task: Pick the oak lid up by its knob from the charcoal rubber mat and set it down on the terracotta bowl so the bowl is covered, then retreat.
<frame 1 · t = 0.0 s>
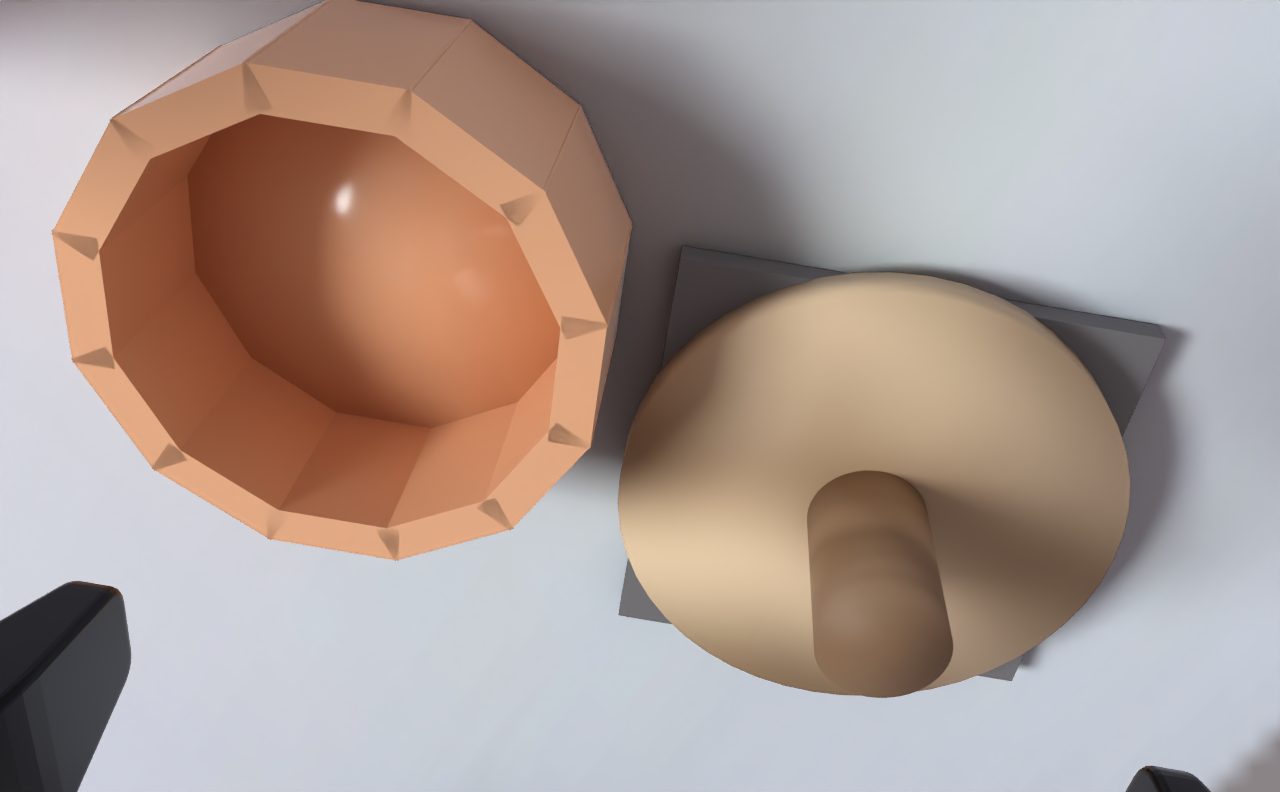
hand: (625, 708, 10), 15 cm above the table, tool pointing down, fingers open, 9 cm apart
bowl: (397, 241, 24), on the table
lid: (863, 491, 26), point 1 cm above the table, touching mat
mat: (861, 476, 26), on the table
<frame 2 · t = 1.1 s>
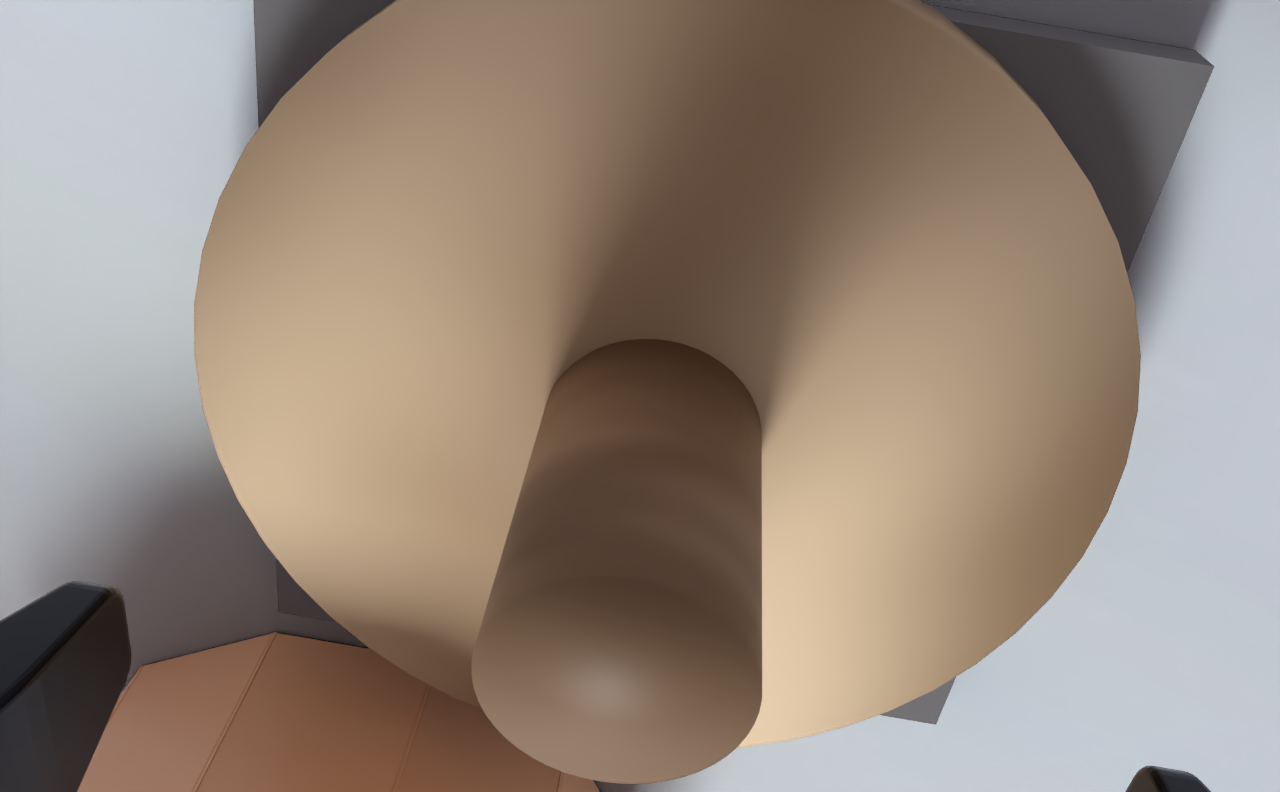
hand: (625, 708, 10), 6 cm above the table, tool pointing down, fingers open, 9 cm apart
lid: (657, 389, 14), point 1 cm above the table, touching mat
mat: (661, 366, 15), on the table
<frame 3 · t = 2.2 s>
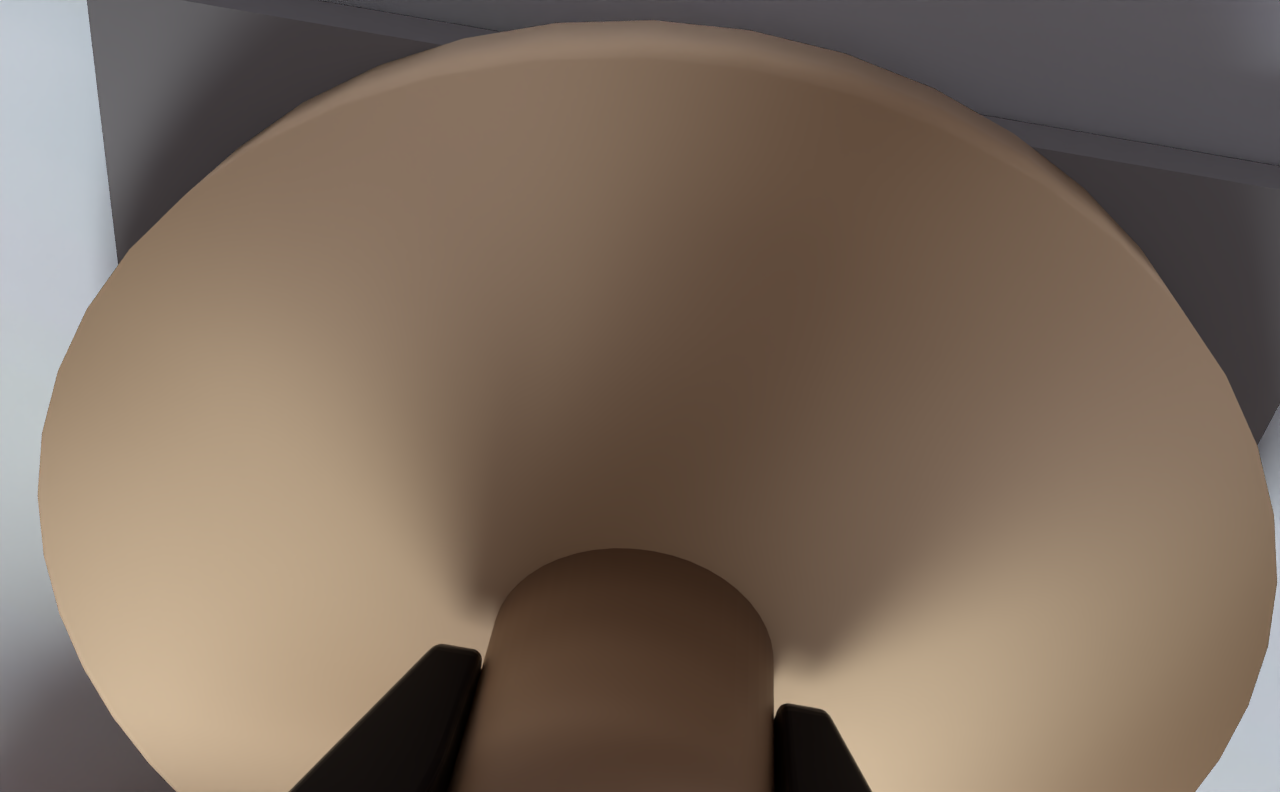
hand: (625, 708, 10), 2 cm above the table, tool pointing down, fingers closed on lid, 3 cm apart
lid: (641, 584, 11), point 1 cm above the table, touching gripper, mat
mat: (645, 545, 12), on the table
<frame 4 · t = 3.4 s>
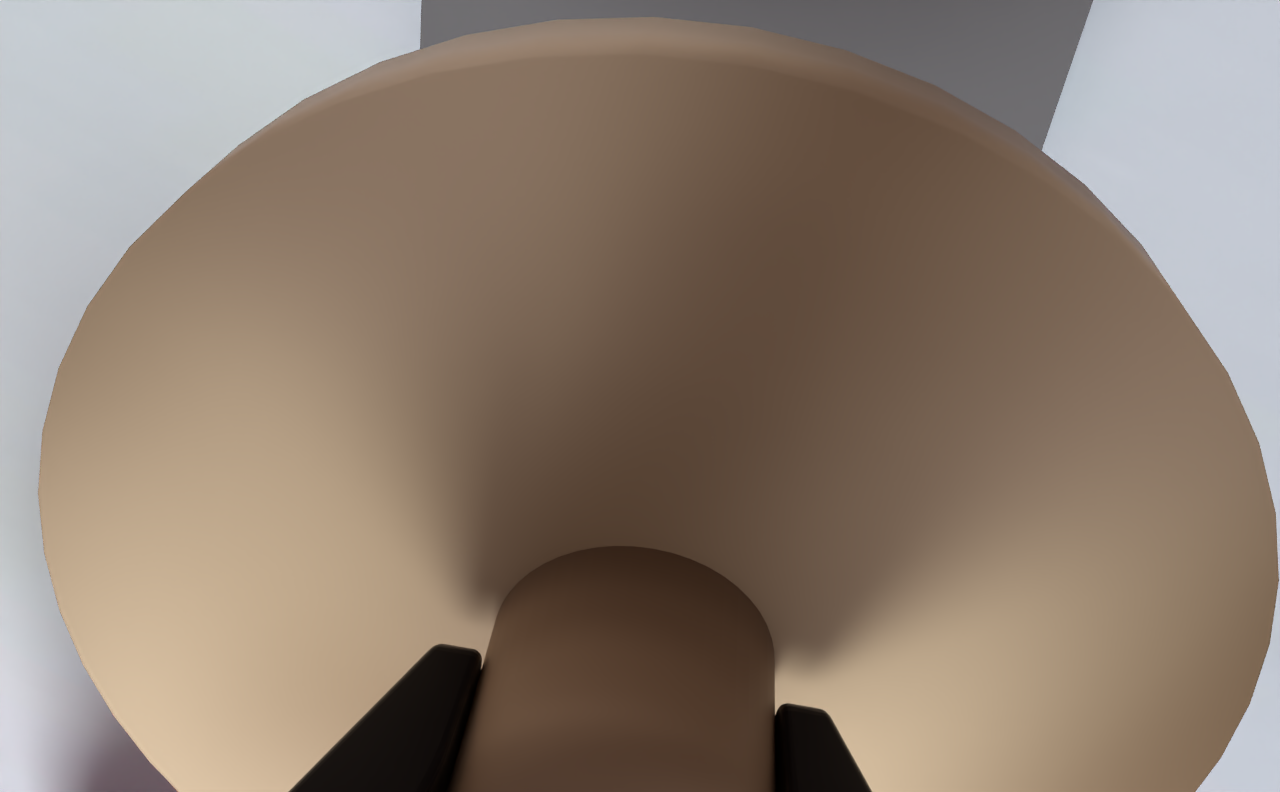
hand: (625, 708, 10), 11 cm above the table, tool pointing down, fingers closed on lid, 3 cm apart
lid: (642, 582, 11), point 10 cm above the table, touching gripper
mat: (716, 168, 19), on the table
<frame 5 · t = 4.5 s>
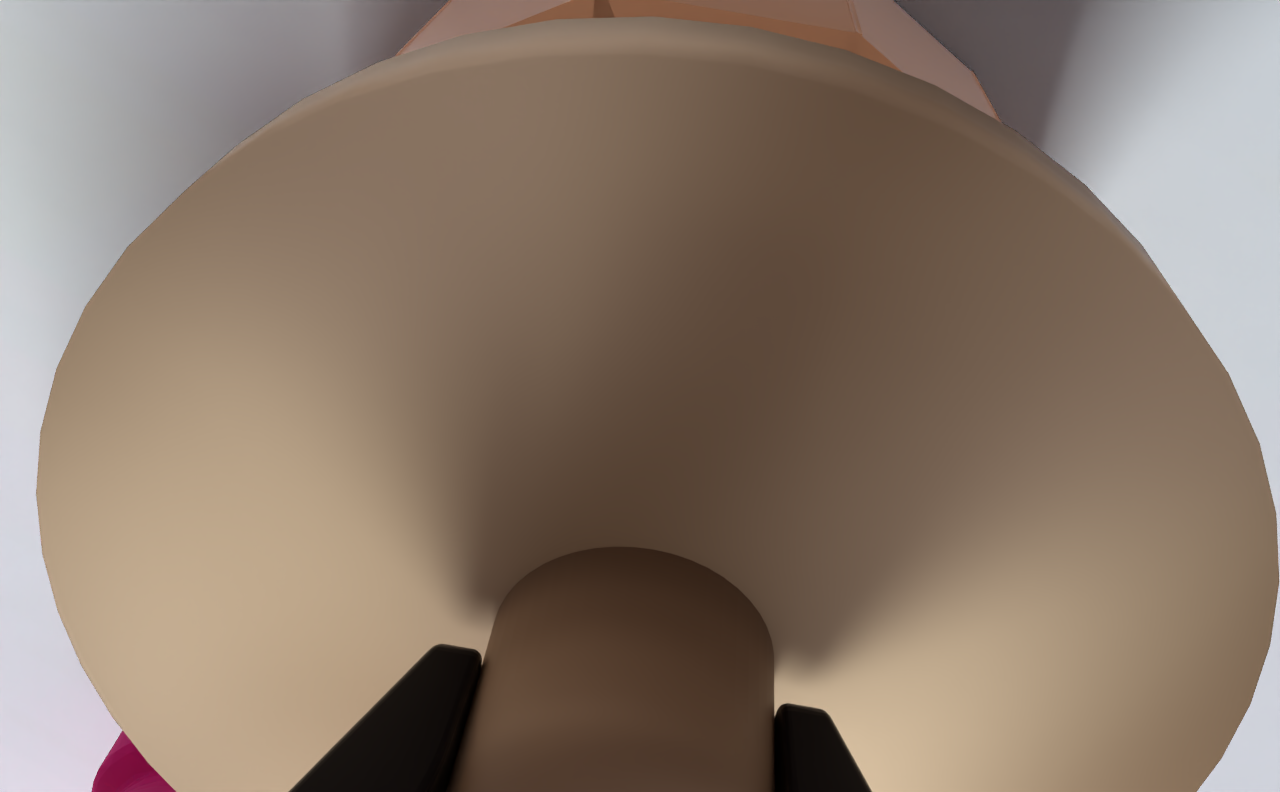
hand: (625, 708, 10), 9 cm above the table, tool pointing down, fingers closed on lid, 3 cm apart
bowl: (677, 260, 18), on the table
pepper mill: (270, 762, 25), on the table
lid: (641, 583, 11), point 8 cm above the table, touching gripper
when the fingers open (8 cm above the table, at t = 4.9 s): lid drops 2 cm, resting on bowl.
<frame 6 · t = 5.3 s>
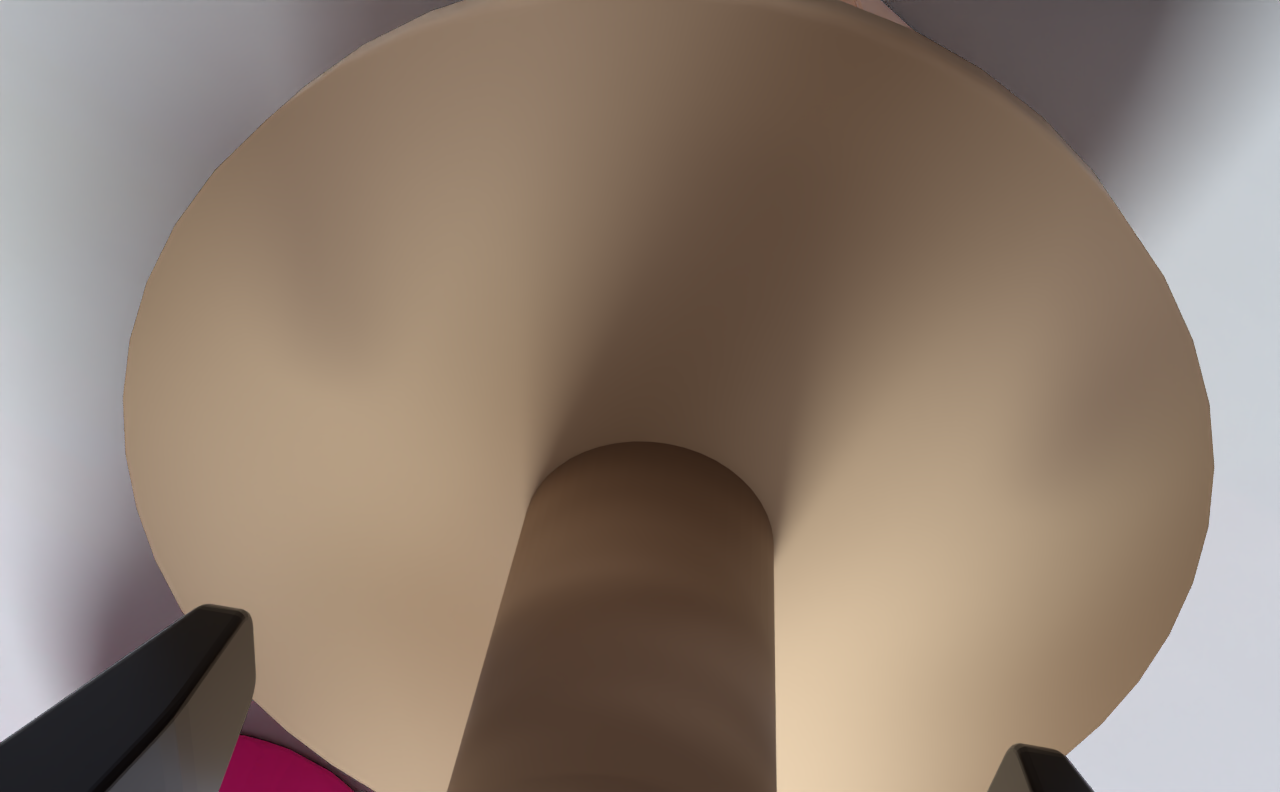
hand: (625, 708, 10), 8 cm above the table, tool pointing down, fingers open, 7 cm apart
bowl: (676, 306, 16), on the table
lid: (655, 486, 13), point 4 cm above the table, touching bowl
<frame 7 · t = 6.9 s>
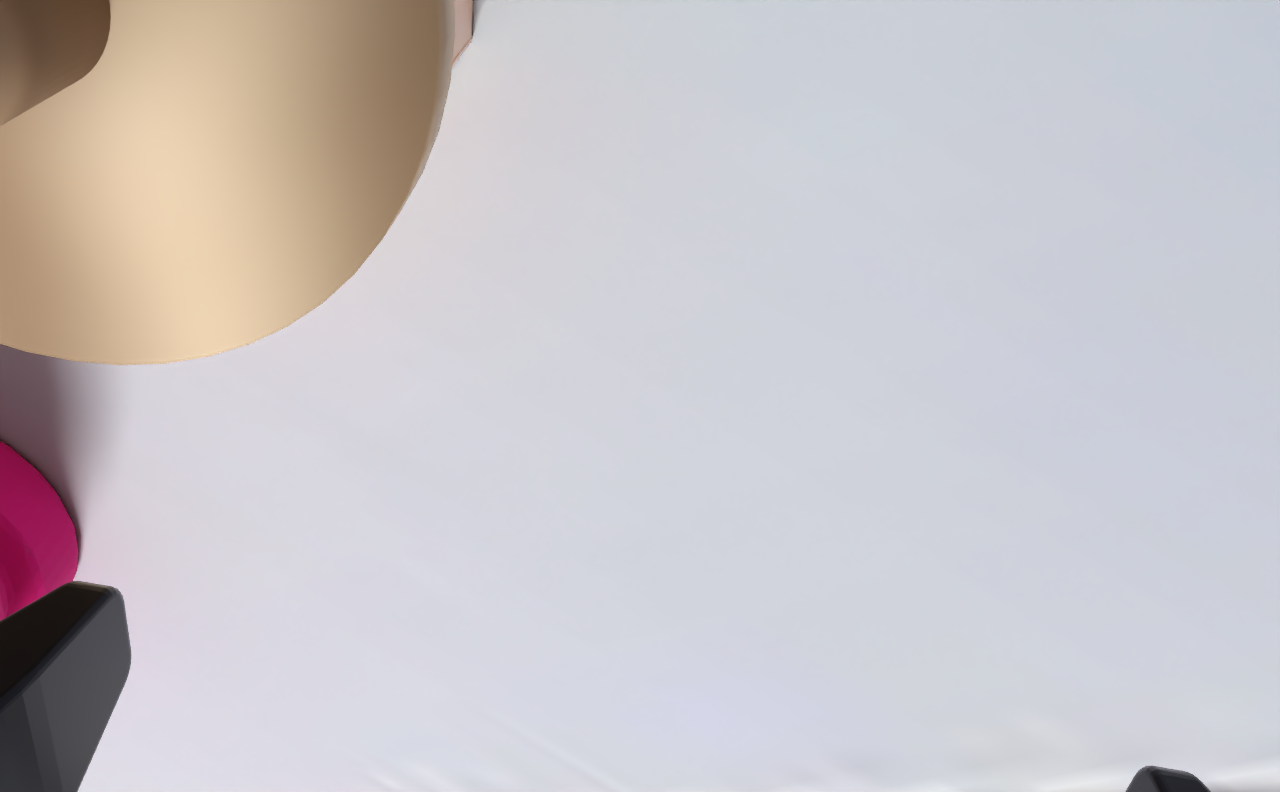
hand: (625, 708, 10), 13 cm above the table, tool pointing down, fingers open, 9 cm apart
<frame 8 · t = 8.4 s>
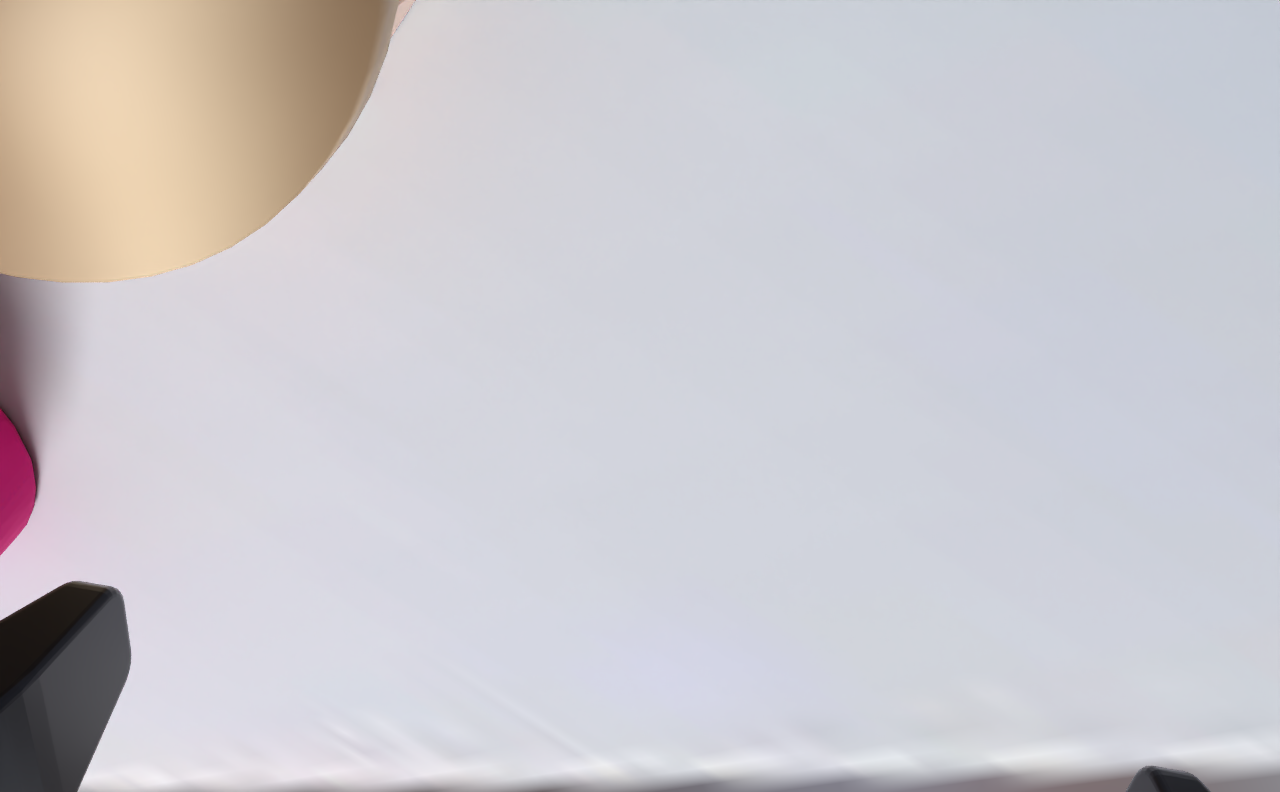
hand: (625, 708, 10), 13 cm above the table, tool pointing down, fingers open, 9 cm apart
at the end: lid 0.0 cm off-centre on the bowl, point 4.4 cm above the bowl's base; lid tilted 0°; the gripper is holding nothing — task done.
